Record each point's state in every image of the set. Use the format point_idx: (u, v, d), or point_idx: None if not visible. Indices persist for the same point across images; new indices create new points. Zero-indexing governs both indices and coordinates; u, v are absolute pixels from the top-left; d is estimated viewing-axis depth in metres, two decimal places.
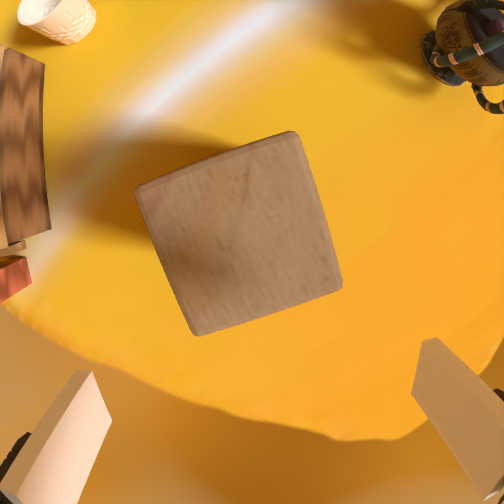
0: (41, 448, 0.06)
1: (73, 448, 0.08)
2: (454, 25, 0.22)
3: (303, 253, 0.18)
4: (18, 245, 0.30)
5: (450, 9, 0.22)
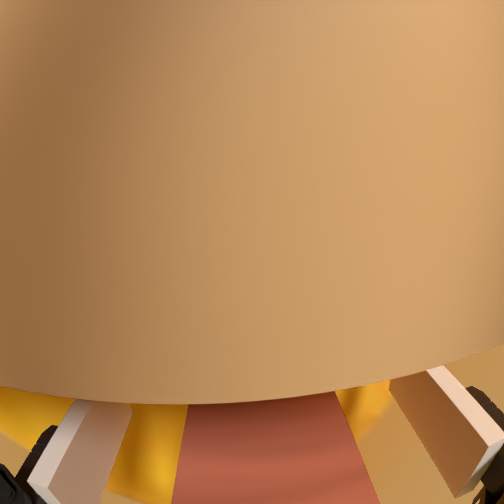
0: (71, 439, 0.07)
1: (99, 439, 0.08)
2: None
3: None
4: None
5: None
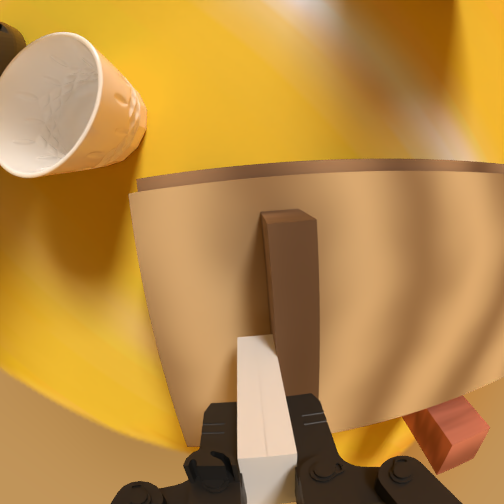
0: (261, 406, 0.09)
1: None
2: None
3: None
4: None
5: None
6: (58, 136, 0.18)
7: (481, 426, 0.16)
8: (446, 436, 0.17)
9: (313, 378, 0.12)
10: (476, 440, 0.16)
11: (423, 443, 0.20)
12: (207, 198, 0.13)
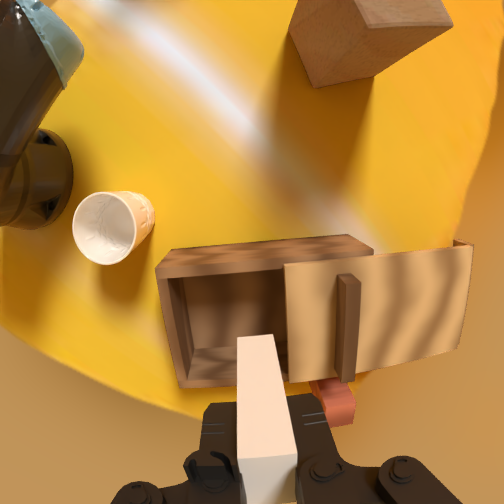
0: (260, 406, 0.09)
1: None
2: None
3: None
4: (461, 241, 0.35)
5: None
6: (105, 226, 0.38)
7: (350, 401, 0.36)
8: (324, 402, 0.36)
9: (356, 337, 0.31)
10: (348, 410, 0.35)
11: None
12: (317, 269, 0.32)
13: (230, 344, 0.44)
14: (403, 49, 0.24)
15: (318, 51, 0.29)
